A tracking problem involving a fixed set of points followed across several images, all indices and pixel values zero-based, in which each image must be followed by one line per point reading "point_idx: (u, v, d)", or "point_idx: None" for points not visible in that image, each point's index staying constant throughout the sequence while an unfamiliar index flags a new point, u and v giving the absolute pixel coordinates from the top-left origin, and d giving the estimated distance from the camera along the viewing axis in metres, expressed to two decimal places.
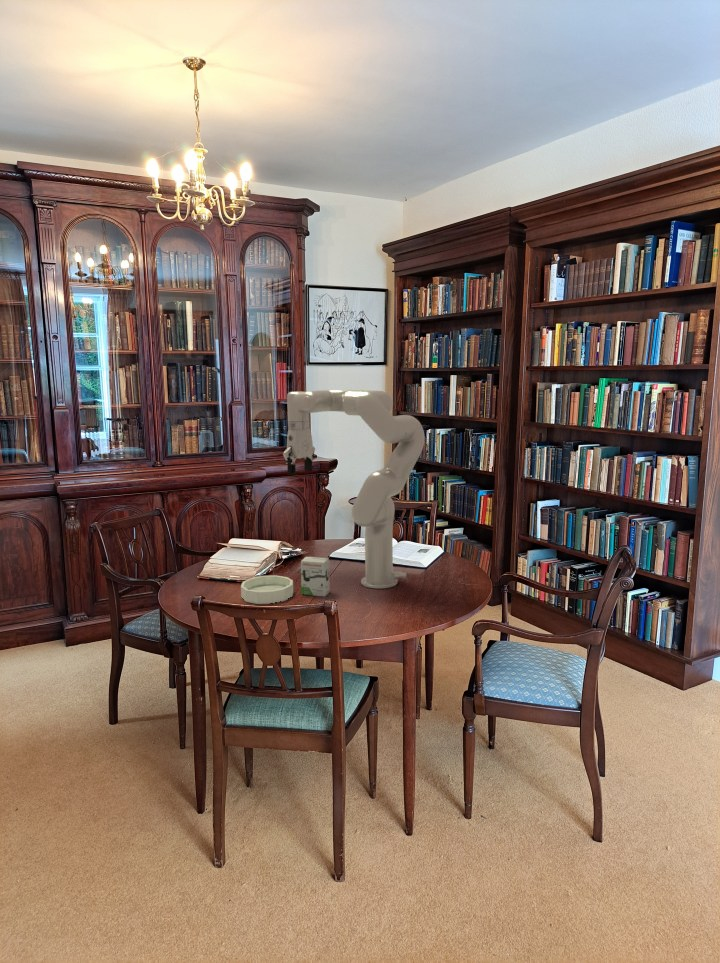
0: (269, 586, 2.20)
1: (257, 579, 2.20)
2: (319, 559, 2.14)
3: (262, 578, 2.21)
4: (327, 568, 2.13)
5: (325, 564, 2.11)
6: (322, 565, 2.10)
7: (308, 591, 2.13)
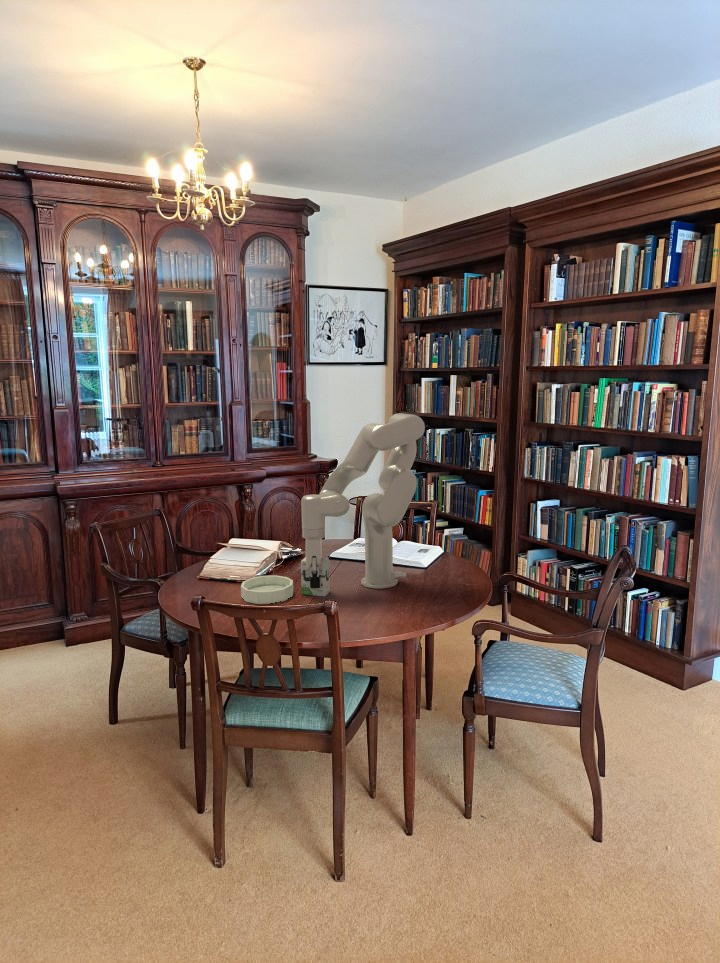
0: (269, 586, 2.20)
1: (257, 579, 2.20)
2: None
3: (262, 578, 2.21)
4: (327, 568, 2.13)
5: (325, 564, 2.11)
6: (322, 565, 2.10)
7: (308, 591, 2.13)
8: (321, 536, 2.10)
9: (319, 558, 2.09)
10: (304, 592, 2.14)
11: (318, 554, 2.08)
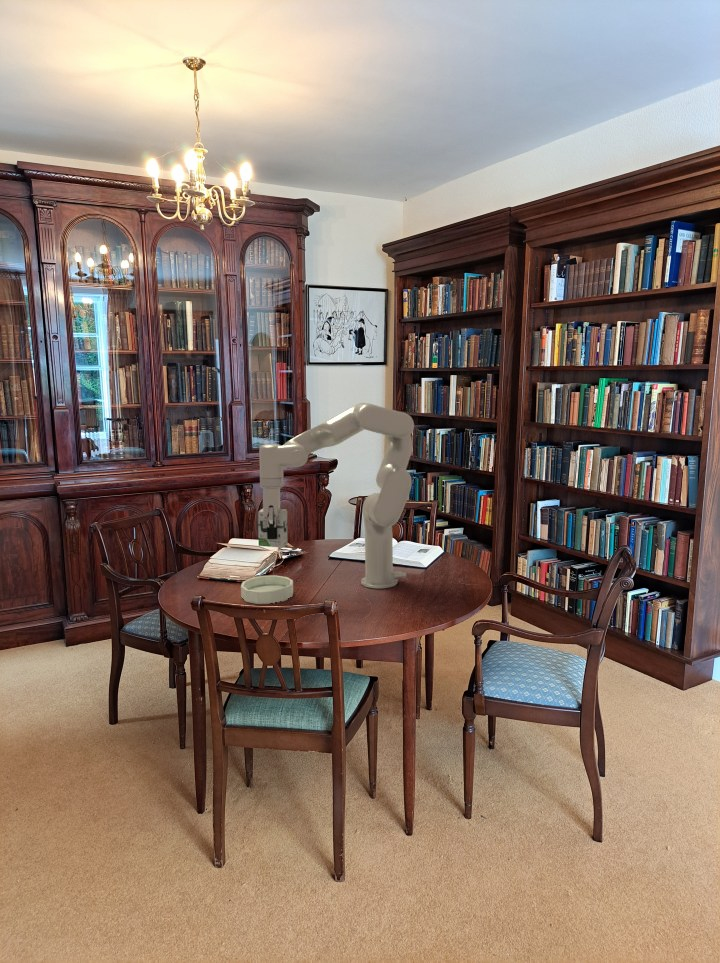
0: (269, 586, 2.20)
1: (257, 579, 2.20)
2: None
3: (262, 578, 2.21)
4: (285, 519, 2.10)
5: (283, 514, 2.08)
6: (280, 515, 2.07)
7: (265, 542, 2.10)
8: (279, 486, 2.06)
9: (276, 508, 2.05)
10: (261, 543, 2.10)
11: (275, 503, 2.05)
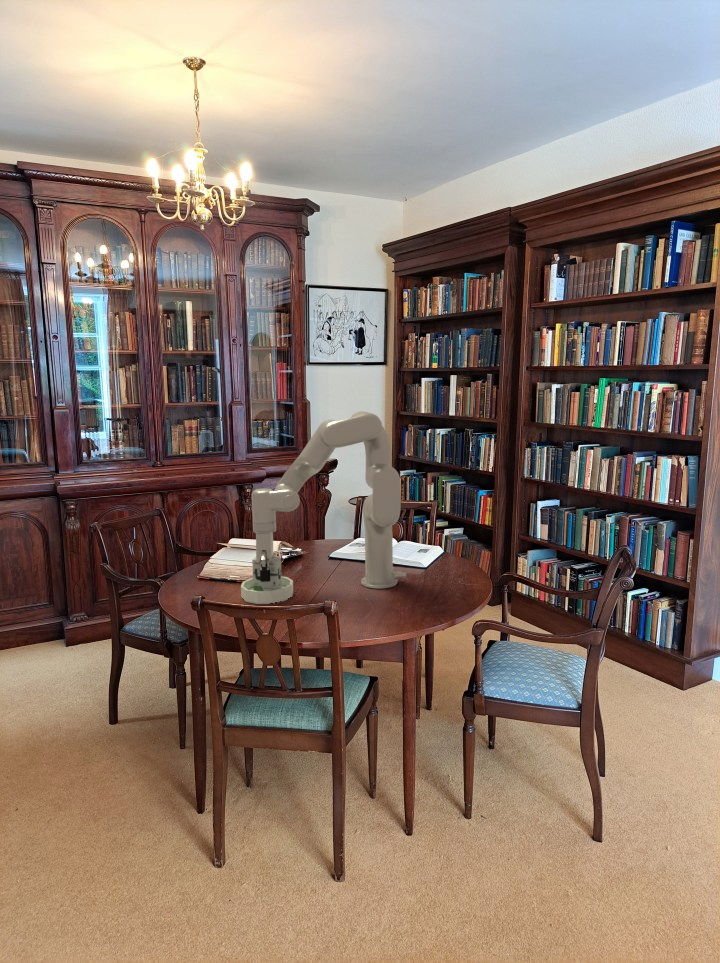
0: None
1: None
2: None
3: None
4: (279, 566, 2.13)
5: (277, 562, 2.11)
6: (274, 563, 2.10)
7: (260, 589, 2.12)
8: (271, 530, 2.08)
9: (269, 552, 2.07)
10: None
11: (268, 548, 2.07)
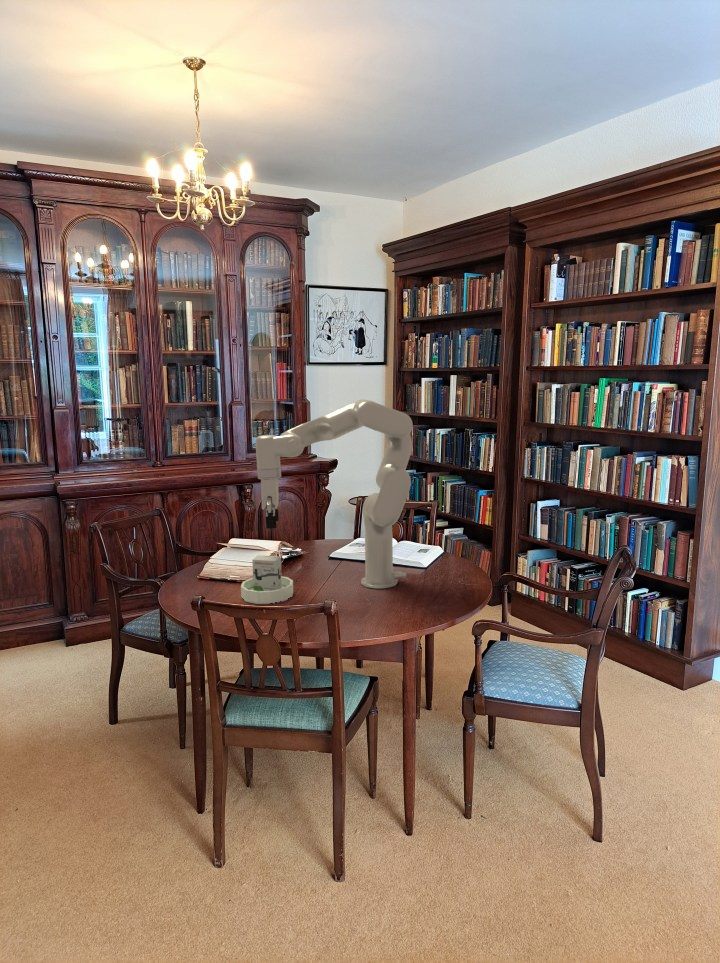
0: None
1: None
2: (271, 557, 2.13)
3: None
4: (279, 566, 2.13)
5: (277, 562, 2.11)
6: (274, 563, 2.10)
7: (260, 589, 2.12)
8: (276, 476, 2.06)
9: (275, 498, 2.05)
10: None
11: (274, 494, 2.05)
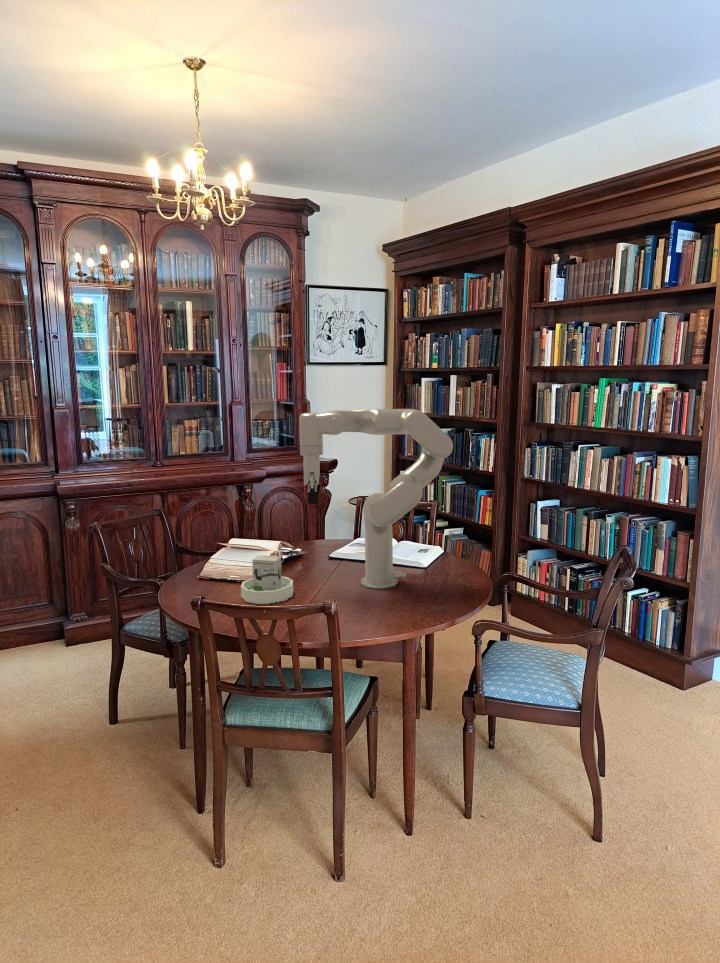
0: None
1: None
2: (271, 557, 2.13)
3: None
4: (279, 566, 2.13)
5: (277, 562, 2.11)
6: (274, 563, 2.10)
7: (260, 589, 2.12)
8: (319, 453, 2.11)
9: (317, 474, 2.10)
10: None
11: (316, 470, 2.10)
